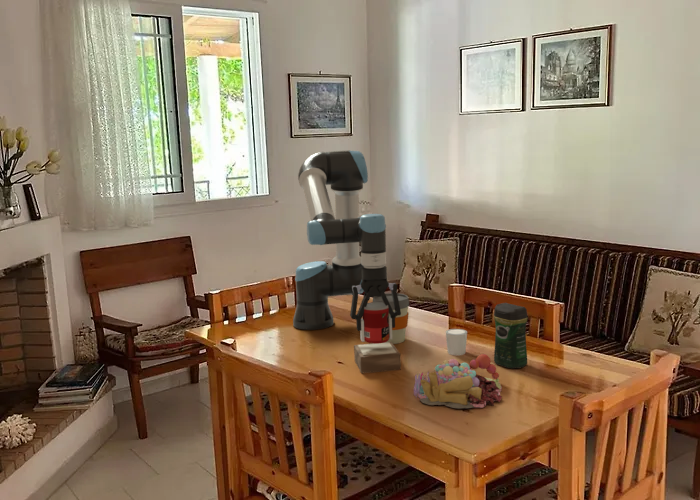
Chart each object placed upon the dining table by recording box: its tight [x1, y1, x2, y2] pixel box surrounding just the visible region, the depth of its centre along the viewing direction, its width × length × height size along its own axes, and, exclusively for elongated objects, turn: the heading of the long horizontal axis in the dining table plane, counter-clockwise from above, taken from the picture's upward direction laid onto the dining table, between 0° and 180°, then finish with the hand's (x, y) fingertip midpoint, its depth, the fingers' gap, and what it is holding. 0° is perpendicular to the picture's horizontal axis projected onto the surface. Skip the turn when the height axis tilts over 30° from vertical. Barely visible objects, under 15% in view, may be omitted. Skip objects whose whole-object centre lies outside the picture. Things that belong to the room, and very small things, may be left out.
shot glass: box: [445, 328, 468, 356], centre depth 219 cm, size 7×7×7 cm
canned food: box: [362, 301, 389, 344], centre depth 208 cm, size 8×8×11 cm
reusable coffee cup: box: [372, 292, 410, 345], centre depth 234 cm, size 13×13×15 cm
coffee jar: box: [493, 302, 528, 369], centre depth 205 cm, size 10×8×19 cm
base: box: [353, 342, 402, 374], centre depth 210 cm, size 12×12×5 cm
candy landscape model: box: [413, 353, 503, 409], centre depth 185 cm, size 25×24×9 cm
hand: (376, 339), depth 209 cm, fingers closed on canned food, 8 cm apart
